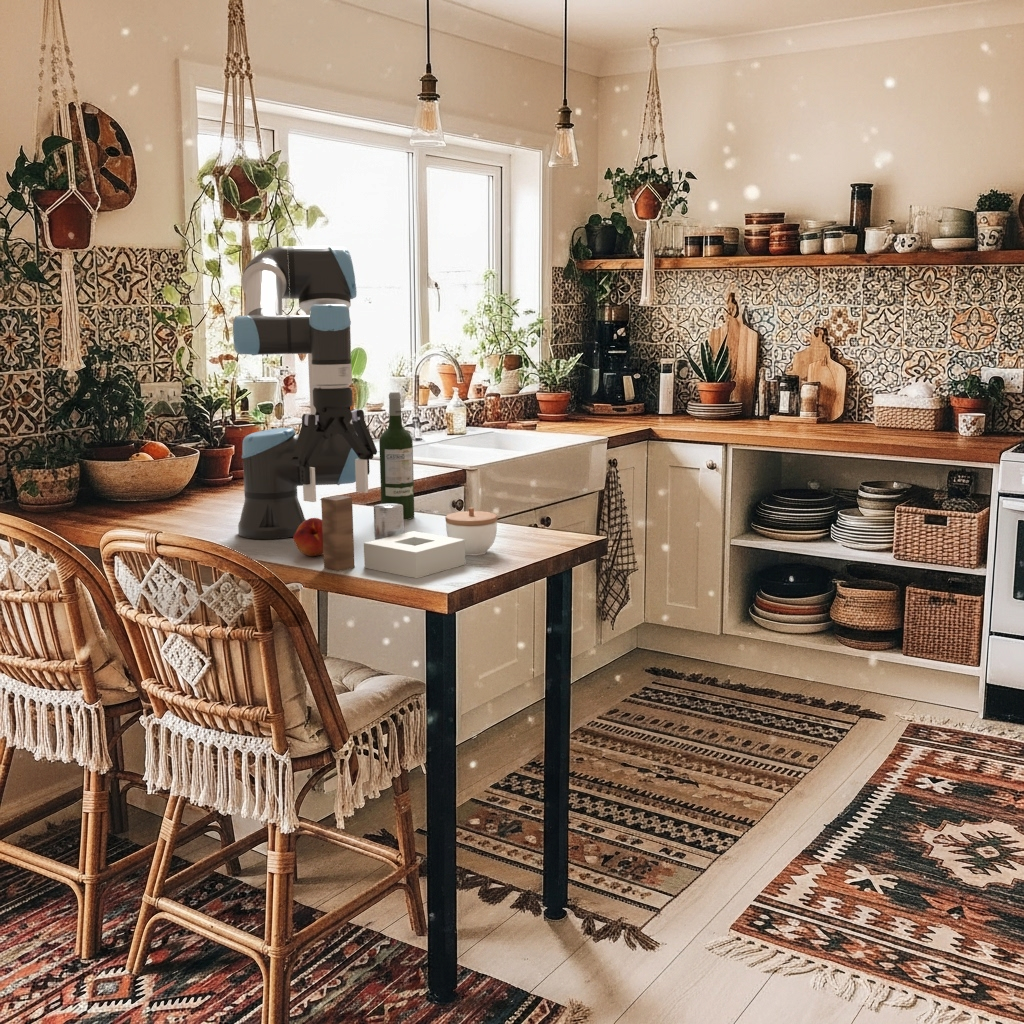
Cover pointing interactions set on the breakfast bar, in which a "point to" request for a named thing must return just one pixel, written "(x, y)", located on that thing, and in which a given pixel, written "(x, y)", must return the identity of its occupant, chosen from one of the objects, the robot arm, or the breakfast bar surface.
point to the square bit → (337, 532)
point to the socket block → (414, 554)
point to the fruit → (310, 537)
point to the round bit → (388, 520)
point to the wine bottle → (397, 461)
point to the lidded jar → (473, 530)
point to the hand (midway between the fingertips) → (336, 496)
